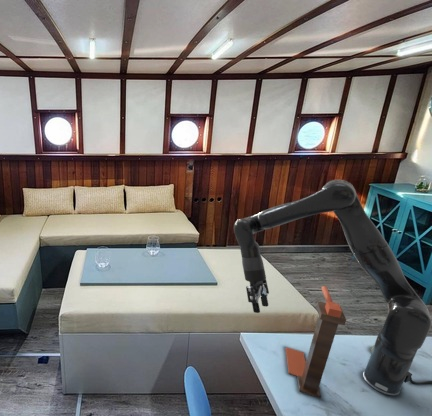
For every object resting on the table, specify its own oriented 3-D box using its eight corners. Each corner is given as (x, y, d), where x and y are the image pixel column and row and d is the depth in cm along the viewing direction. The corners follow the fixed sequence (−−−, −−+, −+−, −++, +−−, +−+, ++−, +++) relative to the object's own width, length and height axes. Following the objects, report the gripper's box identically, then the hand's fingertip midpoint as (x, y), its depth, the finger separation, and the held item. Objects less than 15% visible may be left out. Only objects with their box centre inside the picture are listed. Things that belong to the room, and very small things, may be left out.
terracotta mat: (285, 348, 113) (285, 347, 113) (303, 353, 110) (303, 352, 110) (288, 373, 102) (288, 372, 102) (308, 380, 99) (308, 379, 99)
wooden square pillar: (296, 376, 101) (317, 301, 91) (317, 383, 98) (340, 306, 88) (299, 392, 95) (321, 313, 85) (320, 399, 93) (346, 319, 83)
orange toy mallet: (317, 288, 98) (319, 281, 97) (328, 290, 96) (330, 284, 96) (327, 315, 84) (329, 308, 84) (339, 318, 83) (342, 311, 82)
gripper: (256, 271, 106) (264, 316, 104) (270, 264, 115) (278, 304, 114) (236, 271, 111) (244, 313, 110) (251, 264, 121) (258, 303, 119)
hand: (261, 309), depth 112 cm, fingers open, 8 cm apart
